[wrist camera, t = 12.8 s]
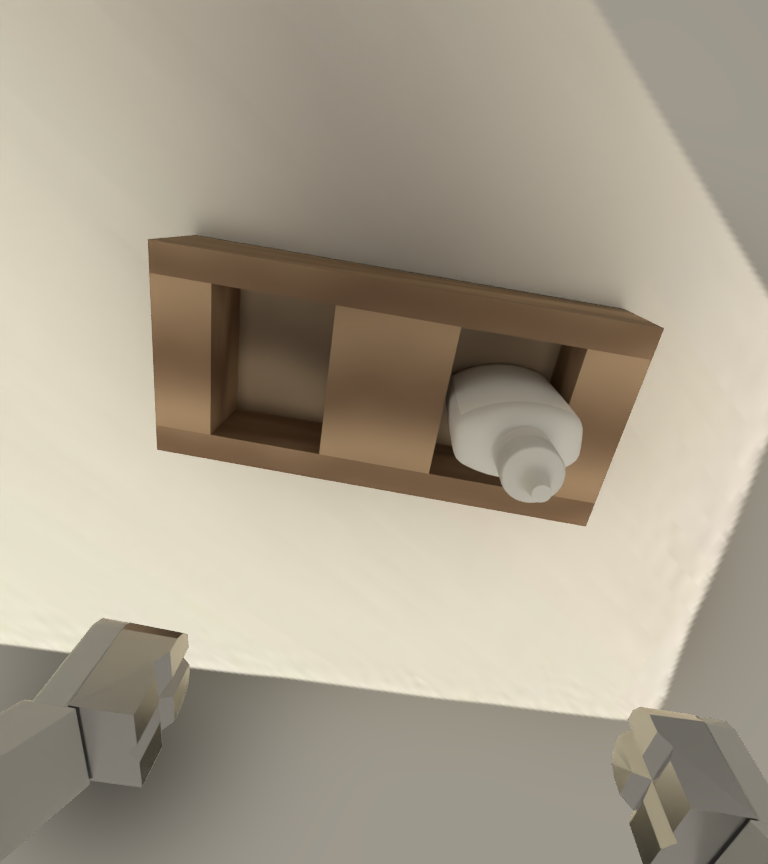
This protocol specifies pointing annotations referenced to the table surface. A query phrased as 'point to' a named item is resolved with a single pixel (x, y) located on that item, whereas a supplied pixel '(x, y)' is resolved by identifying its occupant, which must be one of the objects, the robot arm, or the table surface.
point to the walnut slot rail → (372, 369)
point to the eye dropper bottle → (513, 428)
